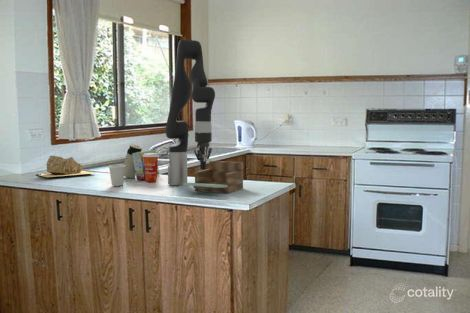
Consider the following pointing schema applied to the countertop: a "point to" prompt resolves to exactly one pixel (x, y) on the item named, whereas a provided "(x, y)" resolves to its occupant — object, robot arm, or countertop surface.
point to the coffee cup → (150, 166)
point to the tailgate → (205, 185)
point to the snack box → (141, 164)
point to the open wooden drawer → (221, 176)
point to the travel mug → (131, 161)
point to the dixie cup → (117, 174)
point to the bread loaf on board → (63, 167)
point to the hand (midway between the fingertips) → (203, 169)
